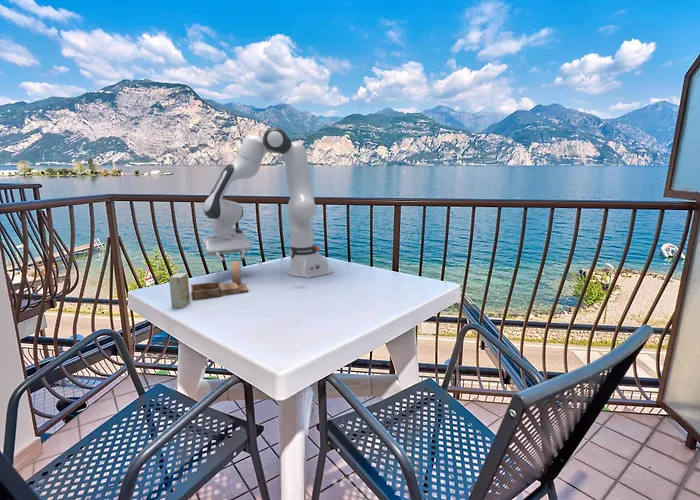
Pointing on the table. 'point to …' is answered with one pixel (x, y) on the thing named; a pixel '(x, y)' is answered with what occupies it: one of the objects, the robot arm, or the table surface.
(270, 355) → the table surface
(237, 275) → the wooden block
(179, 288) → the skincare box
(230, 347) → the table surface
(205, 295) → the wooden desk organizer
